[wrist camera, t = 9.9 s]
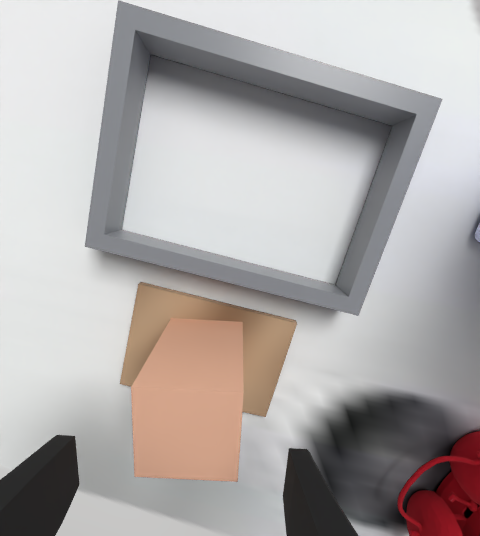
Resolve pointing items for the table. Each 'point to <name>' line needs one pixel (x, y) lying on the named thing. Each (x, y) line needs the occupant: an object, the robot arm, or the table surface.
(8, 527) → the robot arm
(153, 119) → the table surface
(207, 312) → the walnut pad
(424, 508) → the alarm clock
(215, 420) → the block
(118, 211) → the gray rectangular frame
